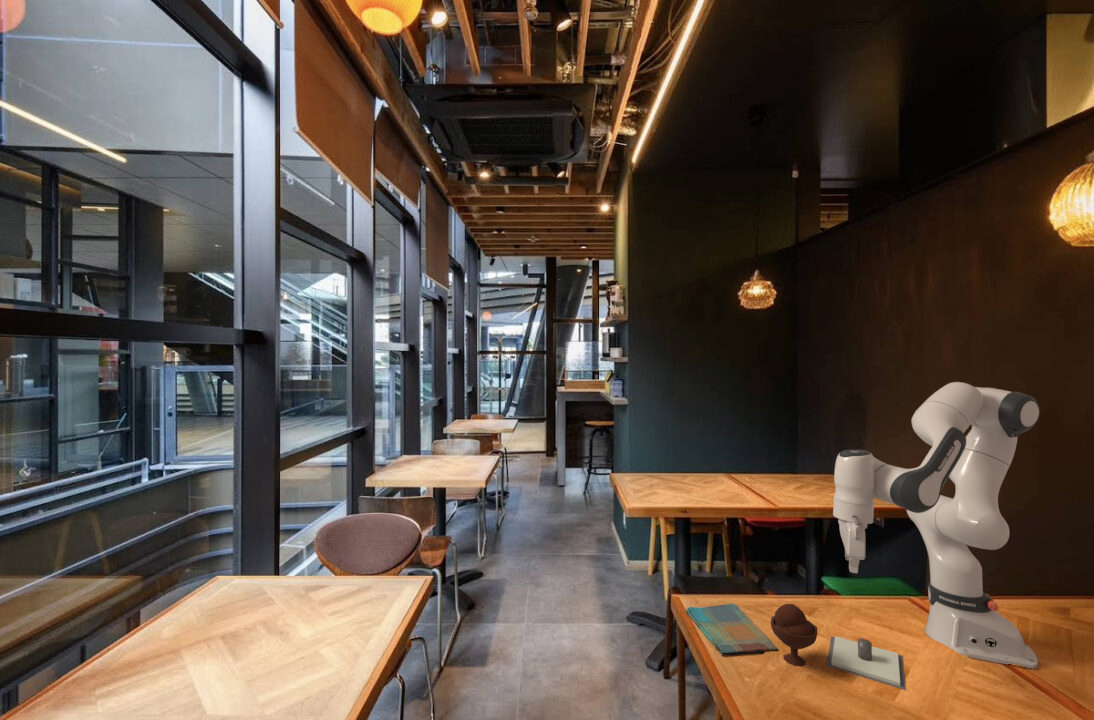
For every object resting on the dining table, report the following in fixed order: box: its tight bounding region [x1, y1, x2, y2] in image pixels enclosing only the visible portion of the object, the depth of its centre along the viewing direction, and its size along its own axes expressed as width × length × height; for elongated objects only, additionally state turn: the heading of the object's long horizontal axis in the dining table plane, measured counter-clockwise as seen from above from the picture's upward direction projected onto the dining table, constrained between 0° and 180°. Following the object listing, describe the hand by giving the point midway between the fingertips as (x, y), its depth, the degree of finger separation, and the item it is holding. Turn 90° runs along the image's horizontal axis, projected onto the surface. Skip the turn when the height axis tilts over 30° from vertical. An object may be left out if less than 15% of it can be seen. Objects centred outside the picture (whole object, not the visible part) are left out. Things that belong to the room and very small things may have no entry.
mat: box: [826, 636, 907, 691], centre depth 119 cm, size 16×16×1 cm
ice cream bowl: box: [770, 603, 818, 667], centre depth 120 cm, size 11×11×15 cm
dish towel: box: [685, 603, 780, 657], centre depth 135 cm, size 17×23×3 cm
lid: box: [831, 635, 900, 686], centre depth 119 cm, size 14×14×5 cm
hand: (851, 565), depth 120 cm, fingers open, 8 cm apart
